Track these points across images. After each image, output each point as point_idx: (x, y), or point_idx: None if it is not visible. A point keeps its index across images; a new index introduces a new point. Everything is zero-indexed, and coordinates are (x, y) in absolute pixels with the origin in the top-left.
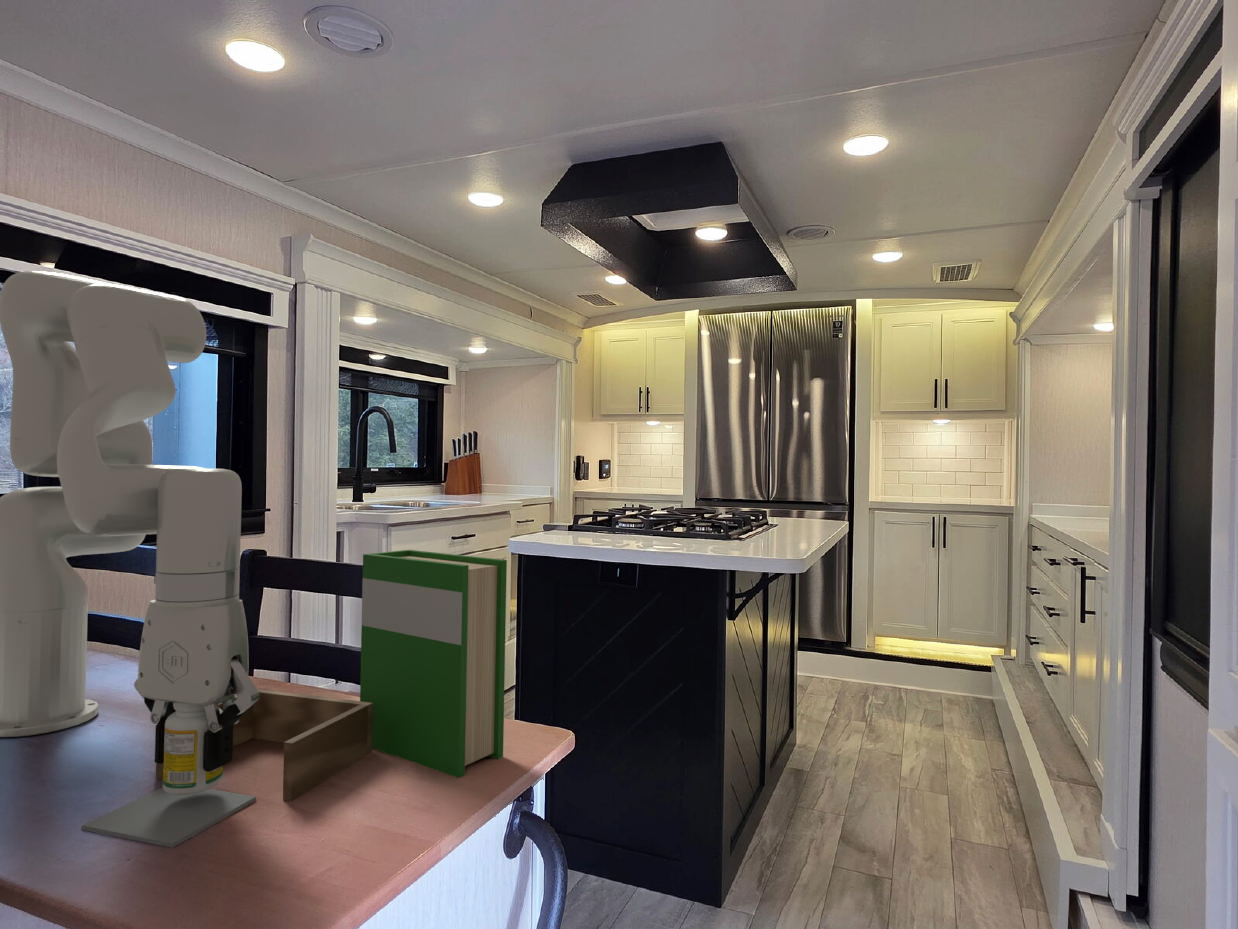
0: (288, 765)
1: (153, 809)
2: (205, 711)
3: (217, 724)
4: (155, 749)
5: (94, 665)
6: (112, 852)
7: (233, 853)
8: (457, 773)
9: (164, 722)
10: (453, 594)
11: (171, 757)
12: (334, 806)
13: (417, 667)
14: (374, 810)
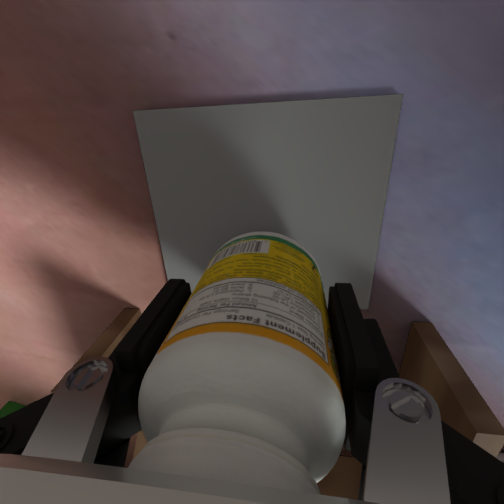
0: (93, 352)
1: (302, 210)
2: (87, 436)
3: (63, 382)
4: (355, 304)
5: None
6: (232, 43)
7: (32, 140)
8: (6, 406)
9: (365, 394)
10: None
11: (249, 271)
12: (57, 310)
13: None
14: (4, 313)
